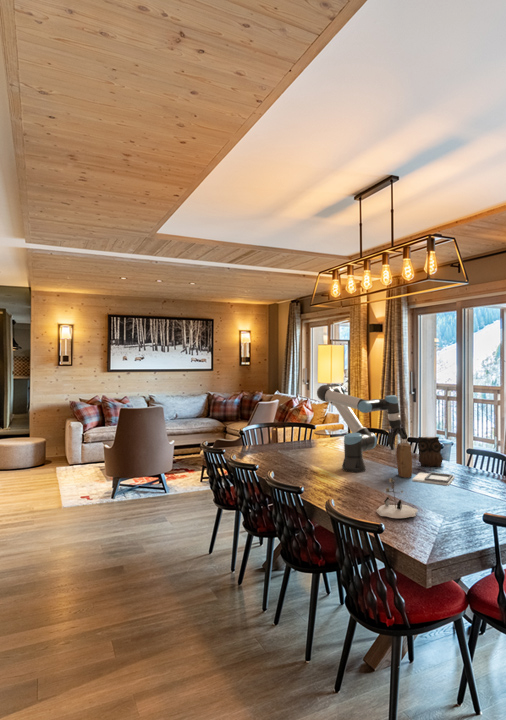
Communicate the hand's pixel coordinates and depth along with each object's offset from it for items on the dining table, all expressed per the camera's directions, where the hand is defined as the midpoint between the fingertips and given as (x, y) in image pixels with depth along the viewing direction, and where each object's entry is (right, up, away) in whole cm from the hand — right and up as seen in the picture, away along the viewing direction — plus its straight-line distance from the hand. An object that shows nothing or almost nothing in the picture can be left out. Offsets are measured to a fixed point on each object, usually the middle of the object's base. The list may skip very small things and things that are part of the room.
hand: (399, 451), depth 285 cm
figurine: (-27, -13, -78) cm, 84 cm away
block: (-1, -13, -12) cm, 18 cm away
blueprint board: (+13, -12, -22) cm, 28 cm away
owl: (+25, -12, +12) cm, 30 cm away
